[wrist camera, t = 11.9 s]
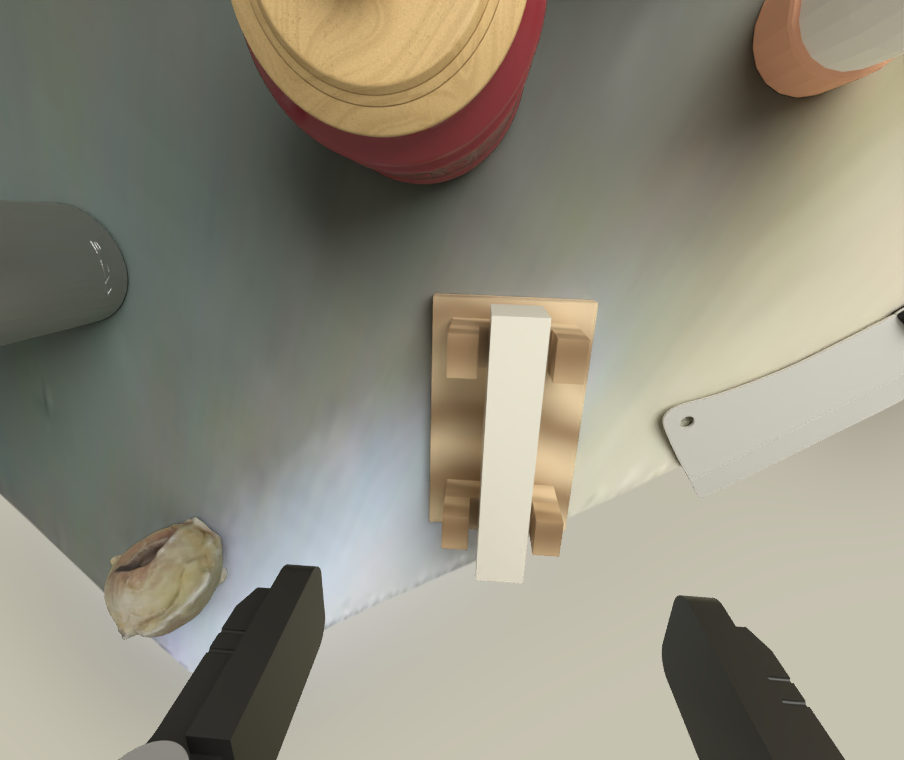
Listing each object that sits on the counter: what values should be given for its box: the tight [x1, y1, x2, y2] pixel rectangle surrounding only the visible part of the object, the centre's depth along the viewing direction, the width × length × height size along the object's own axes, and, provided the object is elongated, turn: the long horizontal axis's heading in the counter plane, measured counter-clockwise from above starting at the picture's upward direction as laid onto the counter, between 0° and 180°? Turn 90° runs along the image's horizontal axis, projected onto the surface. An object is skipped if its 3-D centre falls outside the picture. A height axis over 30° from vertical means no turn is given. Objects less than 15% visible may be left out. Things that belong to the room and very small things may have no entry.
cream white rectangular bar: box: [476, 304, 551, 584], centre depth 31 cm, size 20×4×4 cm, turn 178°
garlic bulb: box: [104, 517, 227, 640], centre depth 40 cm, size 9×8×10 cm
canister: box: [231, 0, 547, 184], centre depth 21 cm, size 13×13×18 cm
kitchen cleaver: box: [662, 306, 904, 498], centre depth 33 cm, size 31×2×10 cm
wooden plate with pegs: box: [429, 293, 598, 556], centre depth 34 cm, size 20×12×6 cm, turn 178°
